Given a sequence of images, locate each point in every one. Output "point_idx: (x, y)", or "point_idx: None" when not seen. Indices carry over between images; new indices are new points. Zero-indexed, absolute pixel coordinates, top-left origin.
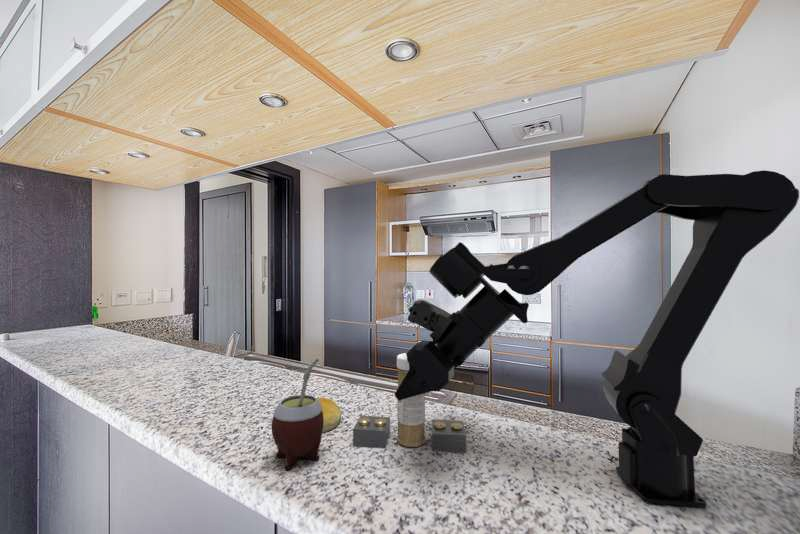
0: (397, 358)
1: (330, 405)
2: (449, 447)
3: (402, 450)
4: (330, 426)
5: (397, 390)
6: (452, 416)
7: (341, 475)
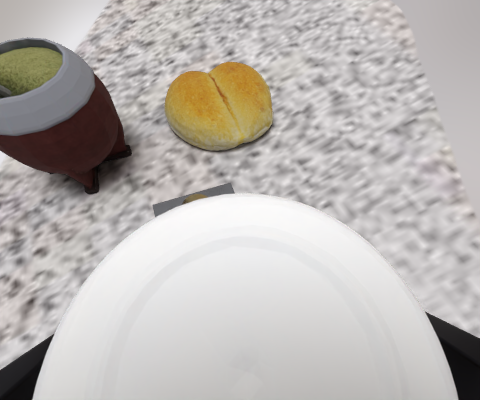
0: (133, 233)
1: (239, 103)
2: None
3: None
4: (201, 145)
5: (20, 359)
6: None
7: (48, 262)
